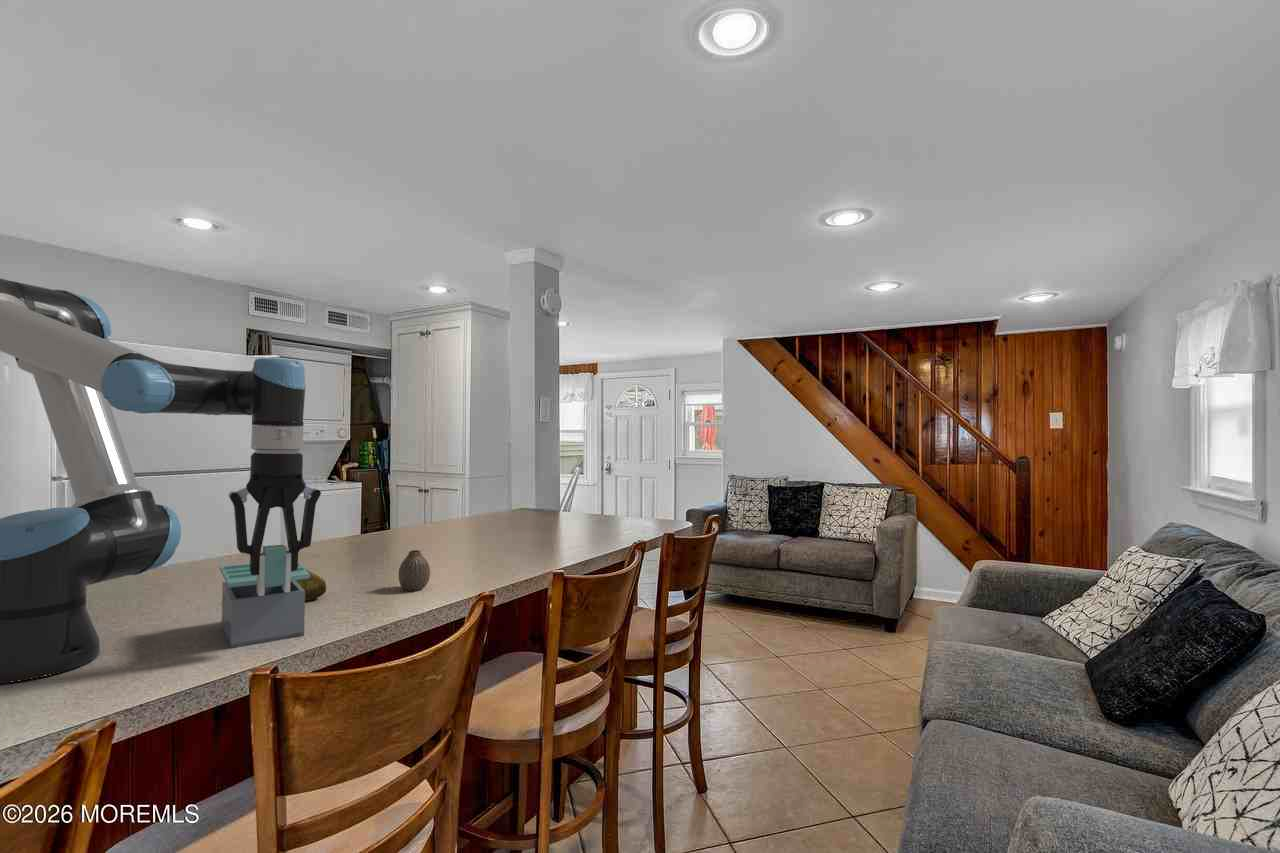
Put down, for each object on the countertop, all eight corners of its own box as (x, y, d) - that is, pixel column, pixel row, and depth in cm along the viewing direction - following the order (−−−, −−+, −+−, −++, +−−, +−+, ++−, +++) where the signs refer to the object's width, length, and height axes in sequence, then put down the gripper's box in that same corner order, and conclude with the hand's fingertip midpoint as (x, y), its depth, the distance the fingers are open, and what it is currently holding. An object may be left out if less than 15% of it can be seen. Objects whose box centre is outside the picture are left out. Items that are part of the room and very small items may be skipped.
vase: (434, 585, 147) (435, 548, 147) (421, 593, 140) (422, 554, 140) (406, 584, 147) (407, 547, 147) (392, 592, 140) (393, 553, 140)
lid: (231, 593, 99) (233, 552, 99) (219, 569, 114) (220, 533, 114) (315, 583, 106) (316, 544, 106) (293, 561, 122) (294, 528, 122)
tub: (230, 648, 104) (231, 600, 104) (221, 624, 116) (222, 582, 116) (304, 635, 111) (305, 590, 111) (288, 614, 123) (289, 574, 123)
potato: (299, 608, 127) (299, 569, 127) (252, 601, 131) (253, 563, 131) (331, 597, 135) (331, 561, 135) (286, 591, 139) (286, 556, 139)
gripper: (221, 453, 96) (217, 605, 96) (335, 452, 106) (331, 590, 106) (217, 450, 101) (213, 594, 101) (325, 450, 112) (321, 580, 112)
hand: (273, 591), depth 104 cm, fingers closed on lid, 3 cm apart
